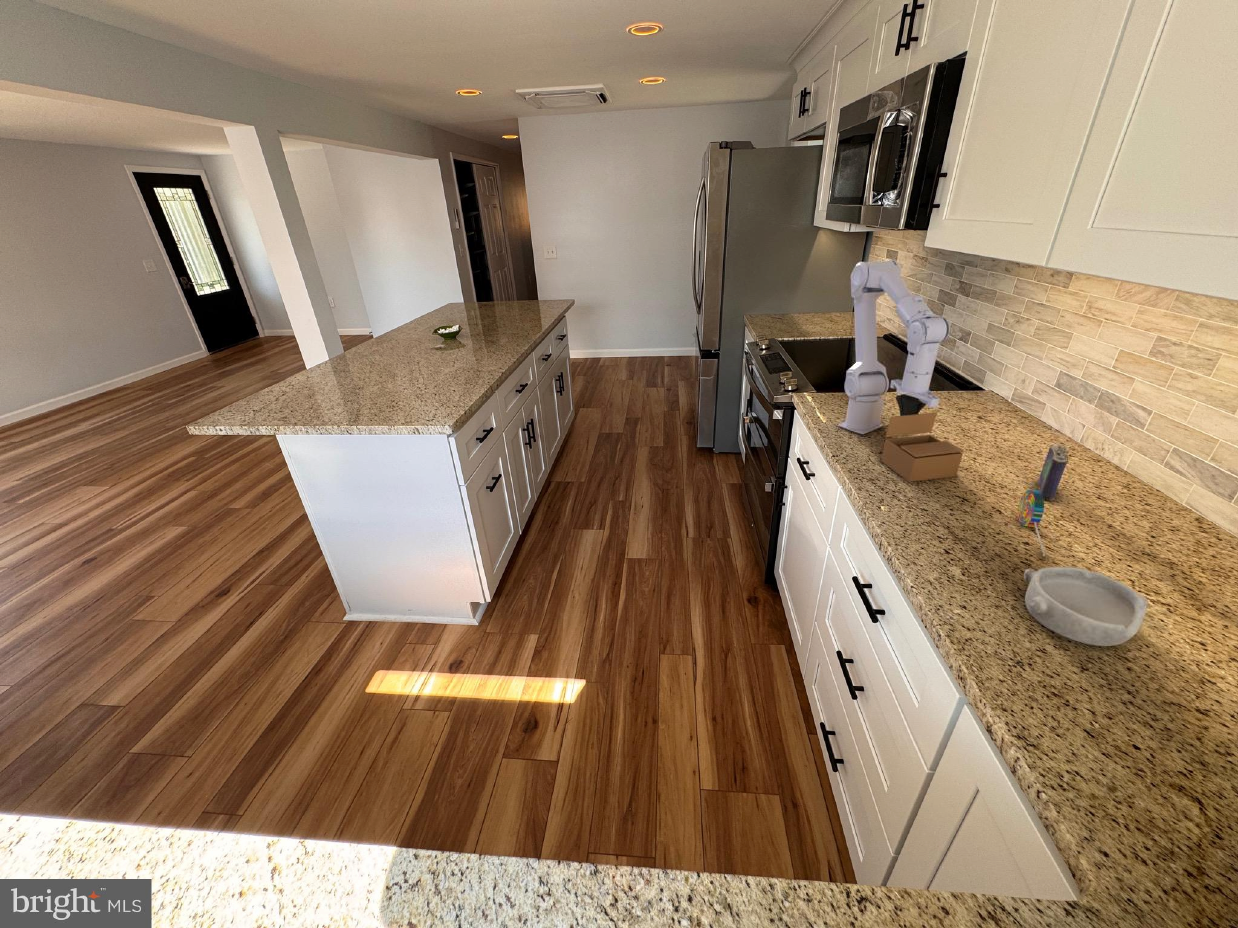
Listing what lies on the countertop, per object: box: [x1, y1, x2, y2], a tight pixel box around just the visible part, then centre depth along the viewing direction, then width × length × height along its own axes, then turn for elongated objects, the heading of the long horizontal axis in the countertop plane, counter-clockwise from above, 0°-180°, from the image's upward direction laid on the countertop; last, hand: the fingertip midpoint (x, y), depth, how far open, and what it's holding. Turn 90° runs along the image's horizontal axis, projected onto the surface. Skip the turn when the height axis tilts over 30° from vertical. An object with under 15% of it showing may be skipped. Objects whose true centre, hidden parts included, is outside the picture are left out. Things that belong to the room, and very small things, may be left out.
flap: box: [885, 411, 938, 438], centre depth 122 cm, size 5×12×1 cm
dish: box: [1023, 566, 1149, 647], centre depth 77 cm, size 14×14×5 cm
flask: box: [1036, 444, 1070, 501], centre depth 108 cm, size 9×3×11 cm, turn 147°
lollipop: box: [1017, 489, 1046, 557], centre depth 96 cm, size 7×1×15 cm
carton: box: [880, 434, 964, 483], centre depth 120 cm, size 11×12×7 cm
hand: (906, 424), depth 124 cm, fingers closed
